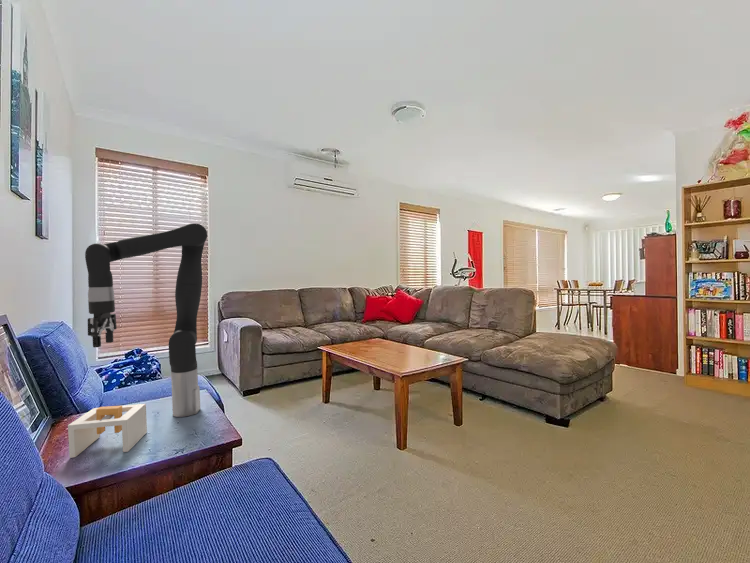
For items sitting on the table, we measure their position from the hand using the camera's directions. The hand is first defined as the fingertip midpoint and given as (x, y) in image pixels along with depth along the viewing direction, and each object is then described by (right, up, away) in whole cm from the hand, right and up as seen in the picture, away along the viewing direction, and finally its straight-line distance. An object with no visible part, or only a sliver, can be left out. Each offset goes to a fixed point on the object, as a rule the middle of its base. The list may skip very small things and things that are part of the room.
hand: (103, 344), depth 131 cm
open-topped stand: (+11, -30, -12) cm, 35 cm away
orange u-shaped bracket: (+11, -26, -12) cm, 31 cm away
